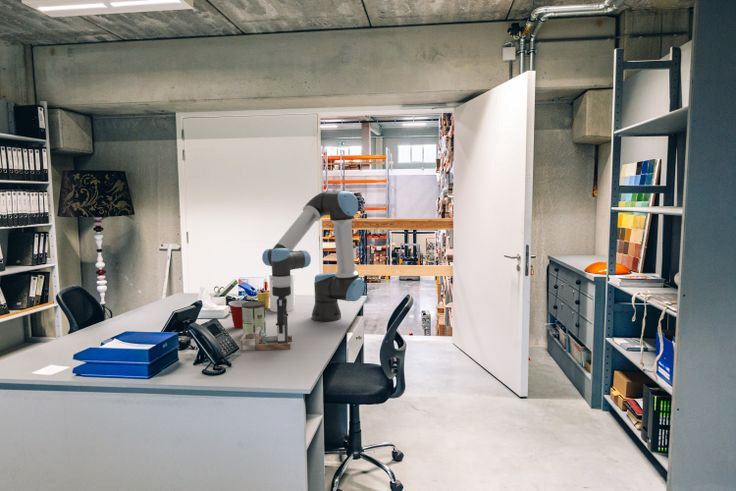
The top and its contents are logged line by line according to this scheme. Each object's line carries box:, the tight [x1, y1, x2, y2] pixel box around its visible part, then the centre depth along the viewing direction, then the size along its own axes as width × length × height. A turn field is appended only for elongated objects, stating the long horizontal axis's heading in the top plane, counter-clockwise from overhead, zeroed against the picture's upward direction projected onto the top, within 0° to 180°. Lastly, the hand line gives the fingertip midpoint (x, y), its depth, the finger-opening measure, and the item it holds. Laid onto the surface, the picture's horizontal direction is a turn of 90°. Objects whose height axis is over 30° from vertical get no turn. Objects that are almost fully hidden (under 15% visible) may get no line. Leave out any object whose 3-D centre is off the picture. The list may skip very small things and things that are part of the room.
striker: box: [262, 315, 289, 344], centre depth 197 cm, size 10×4×12 cm, turn 96°
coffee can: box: [242, 300, 267, 335], centre depth 214 cm, size 10×10×14 cm
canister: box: [268, 271, 296, 313], centre depth 263 cm, size 14×14×20 cm
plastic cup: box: [228, 300, 249, 330], centre depth 226 cm, size 11×11×12 cm
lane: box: [239, 327, 293, 351], centre depth 197 cm, size 20×12×6 cm, turn 96°
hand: (282, 336), depth 198 cm, fingers open, 13 cm apart
